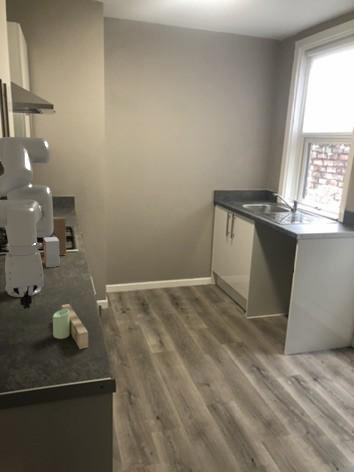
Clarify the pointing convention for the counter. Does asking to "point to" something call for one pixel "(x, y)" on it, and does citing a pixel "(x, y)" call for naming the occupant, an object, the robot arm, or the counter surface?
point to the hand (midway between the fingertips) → (26, 306)
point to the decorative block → (60, 233)
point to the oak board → (77, 329)
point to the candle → (61, 324)
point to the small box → (51, 251)
